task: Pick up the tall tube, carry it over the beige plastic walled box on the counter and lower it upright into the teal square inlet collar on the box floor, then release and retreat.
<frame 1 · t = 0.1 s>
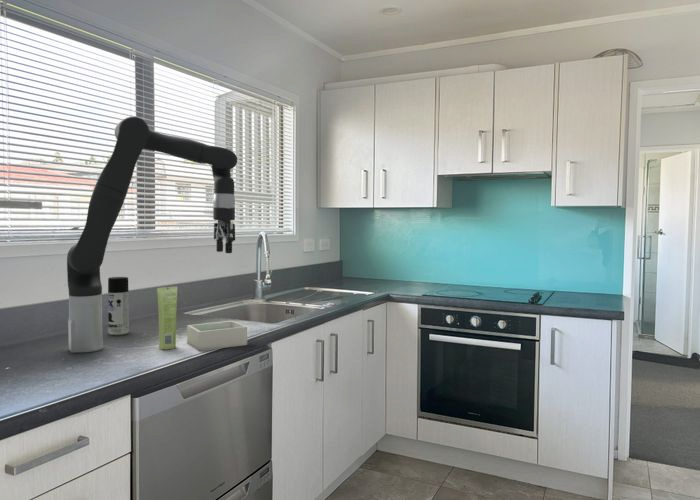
hand: (224, 252, 189), 29 cm above the counter, fingers open, 8 cm apart
spray can: (118, 334, 188), on the counter
box: (217, 344, 175), on the counter
tube: (168, 348, 169), on the counter
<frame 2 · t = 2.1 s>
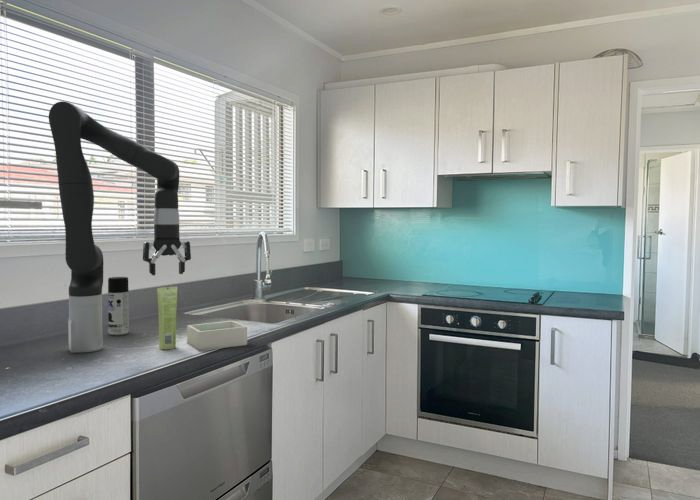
hand: (167, 274, 167), 23 cm above the counter, fingers open, 8 cm apart
nothing on the counter moved.
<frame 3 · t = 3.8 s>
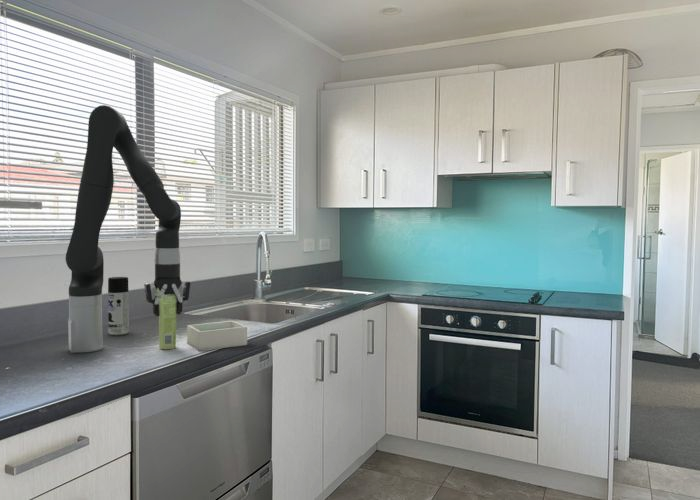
hand: (167, 314, 168), 11 cm above the counter, fingers closed on tube, 6 cm apart
tube: (168, 348, 169), on the counter, touching gripper
everything else where it was.
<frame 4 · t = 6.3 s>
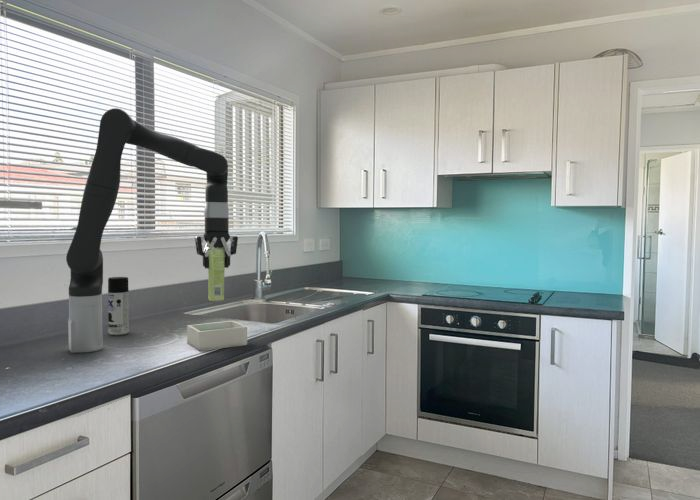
hand: (216, 267, 173), 25 cm above the counter, fingers closed on tube, 6 cm apart
tube: (216, 300, 174), point 14 cm above the counter, touching gripper
everything else where it was.
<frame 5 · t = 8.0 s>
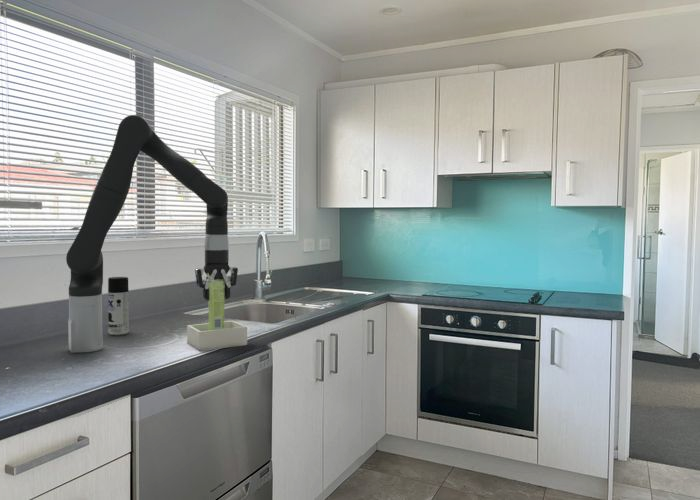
hand: (216, 299, 174), 15 cm above the counter, fingers closed on tube, 6 cm apart
tube: (216, 332, 174), point 4 cm above the counter, touching gripper
everything else where it was.
when the fingers open (12 cm above the counter, at t = 9.1 s): tube stays where it is, resting on box.
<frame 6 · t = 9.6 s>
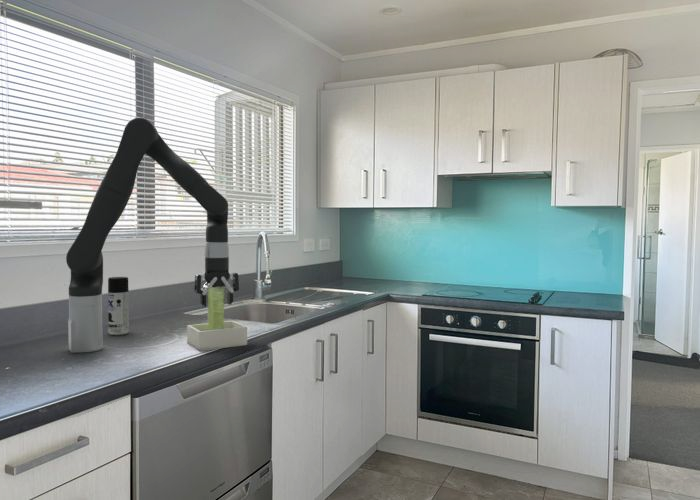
hand: (217, 305, 174), 13 cm above the counter, fingers open, 8 cm apart
tube: (216, 342, 174), point 1 cm above the counter, touching box
everything else where it was.
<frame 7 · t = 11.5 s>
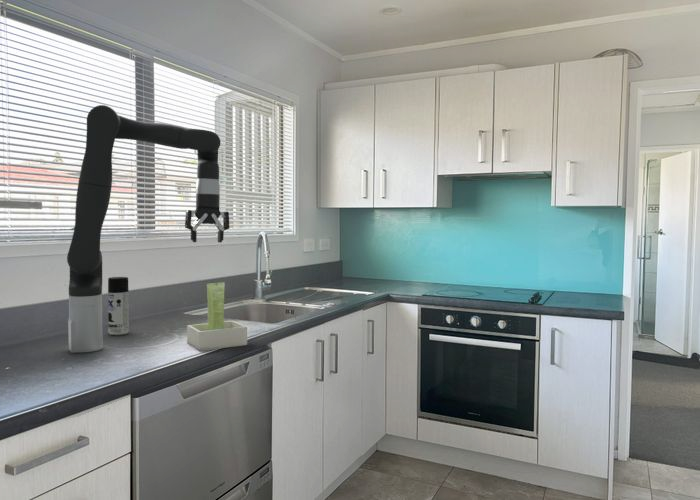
hand: (207, 242, 176), 33 cm above the counter, fingers open, 8 cm apart
nothing on the counter moved.
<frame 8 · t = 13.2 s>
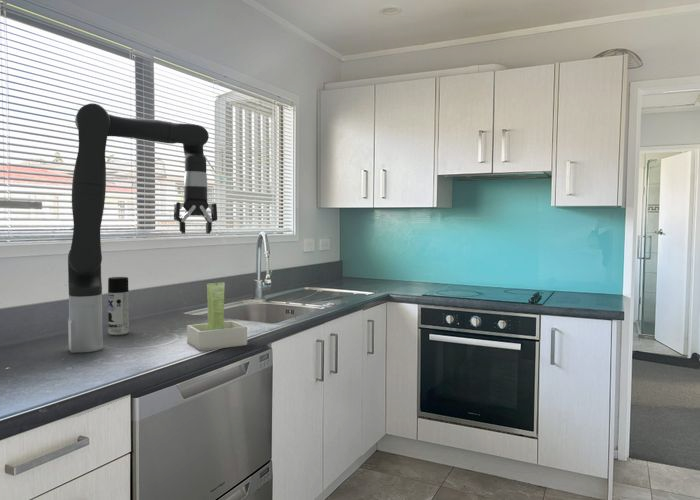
hand: (195, 233, 181), 36 cm above the counter, fingers open, 8 cm apart
nothing on the counter moved.
at the end: tube 0.2 cm off-centre on the box, point 0.6 cm above the box's base; tube tilted 0°; the gripper is holding nothing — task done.
